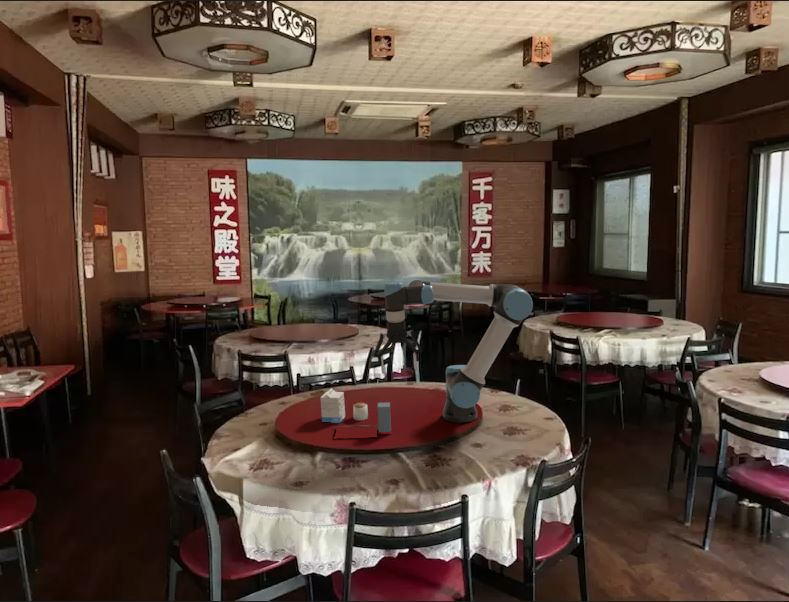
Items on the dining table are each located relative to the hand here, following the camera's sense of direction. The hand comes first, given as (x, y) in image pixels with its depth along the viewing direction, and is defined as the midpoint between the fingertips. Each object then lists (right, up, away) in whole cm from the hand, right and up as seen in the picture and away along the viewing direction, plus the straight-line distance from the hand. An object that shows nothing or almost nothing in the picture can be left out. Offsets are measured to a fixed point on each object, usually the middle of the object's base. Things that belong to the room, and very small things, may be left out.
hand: (399, 370), depth 242 cm
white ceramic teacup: (-17, -23, +21) cm, 36 cm away
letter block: (-6, -26, +5) cm, 27 cm away
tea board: (-18, -26, +5) cm, 32 cm away
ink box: (-29, -24, +21) cm, 43 cm away
